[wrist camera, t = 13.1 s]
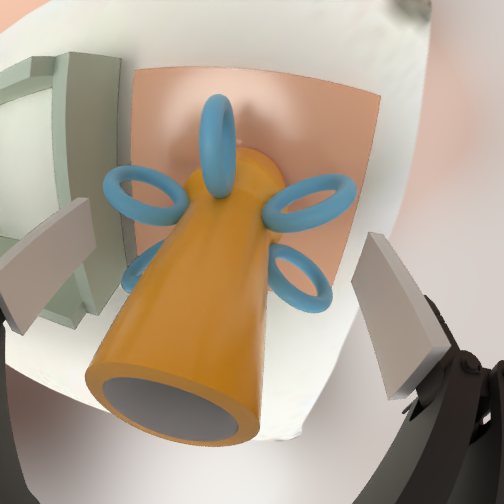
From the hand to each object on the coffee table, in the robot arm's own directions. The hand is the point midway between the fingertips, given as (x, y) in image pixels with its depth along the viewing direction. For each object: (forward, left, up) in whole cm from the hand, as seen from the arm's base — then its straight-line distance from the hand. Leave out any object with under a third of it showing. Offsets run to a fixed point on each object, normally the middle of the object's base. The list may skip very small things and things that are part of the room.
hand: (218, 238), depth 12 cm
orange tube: (0, 0, -7) cm, 7 cm away
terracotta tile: (0, 0, -8) cm, 8 cm away
